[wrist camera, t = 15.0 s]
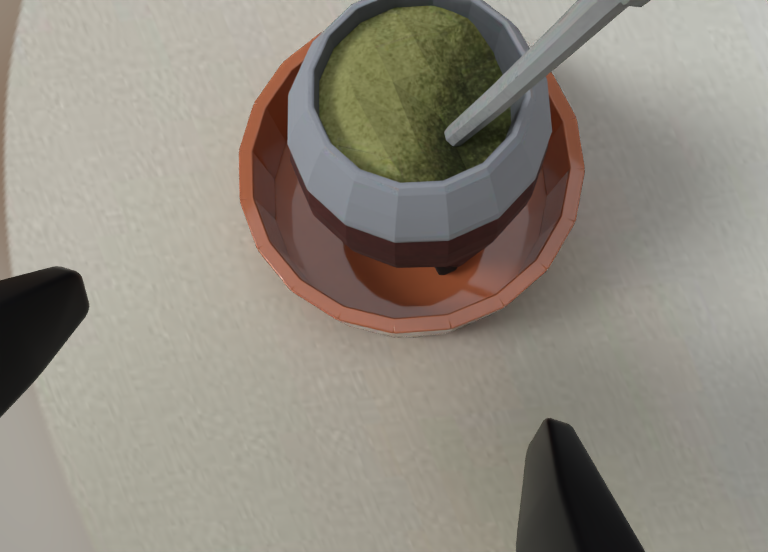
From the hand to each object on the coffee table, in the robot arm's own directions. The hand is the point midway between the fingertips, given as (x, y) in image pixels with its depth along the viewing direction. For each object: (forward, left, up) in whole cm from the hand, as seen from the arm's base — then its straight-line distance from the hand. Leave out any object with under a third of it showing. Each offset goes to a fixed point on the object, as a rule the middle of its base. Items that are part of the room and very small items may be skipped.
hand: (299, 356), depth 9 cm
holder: (0, +7, -9) cm, 12 cm away
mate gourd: (+1, +6, -9) cm, 11 cm away
